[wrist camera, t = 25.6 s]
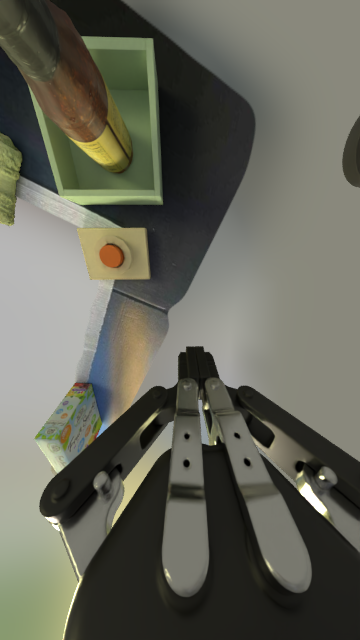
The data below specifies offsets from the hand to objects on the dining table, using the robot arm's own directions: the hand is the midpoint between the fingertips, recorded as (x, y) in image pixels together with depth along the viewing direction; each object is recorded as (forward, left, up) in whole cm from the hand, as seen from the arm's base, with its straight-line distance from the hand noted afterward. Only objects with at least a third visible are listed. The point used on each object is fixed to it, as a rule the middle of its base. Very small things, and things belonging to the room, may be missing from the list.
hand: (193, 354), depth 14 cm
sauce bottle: (+11, -22, -23) cm, 33 cm away
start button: (+13, -7, -20) cm, 25 cm away
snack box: (+31, +39, -23) cm, 55 cm away
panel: (+13, -7, -23) cm, 27 cm away
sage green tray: (+11, -22, -23) cm, 34 cm away
